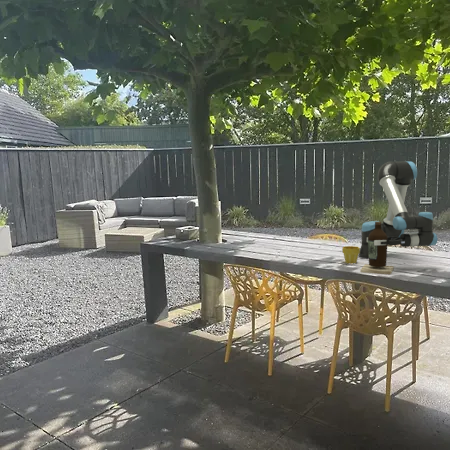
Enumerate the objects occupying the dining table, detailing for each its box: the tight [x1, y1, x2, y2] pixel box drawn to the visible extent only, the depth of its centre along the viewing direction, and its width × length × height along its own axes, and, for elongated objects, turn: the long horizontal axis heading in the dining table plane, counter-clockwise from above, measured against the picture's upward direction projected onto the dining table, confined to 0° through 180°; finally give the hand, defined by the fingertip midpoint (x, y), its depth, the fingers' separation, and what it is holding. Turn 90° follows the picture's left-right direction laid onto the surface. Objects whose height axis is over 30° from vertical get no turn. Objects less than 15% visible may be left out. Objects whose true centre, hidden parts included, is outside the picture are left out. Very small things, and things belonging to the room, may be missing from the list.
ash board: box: [360, 263, 395, 276], centre depth 246 cm, size 16×16×2 cm
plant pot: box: [341, 245, 361, 264], centre depth 268 cm, size 10×10×10 cm
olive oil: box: [368, 221, 388, 267], centre depth 244 cm, size 11×11×25 cm
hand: (370, 241), depth 244 cm, fingers closed on olive oil, 10 cm apart
